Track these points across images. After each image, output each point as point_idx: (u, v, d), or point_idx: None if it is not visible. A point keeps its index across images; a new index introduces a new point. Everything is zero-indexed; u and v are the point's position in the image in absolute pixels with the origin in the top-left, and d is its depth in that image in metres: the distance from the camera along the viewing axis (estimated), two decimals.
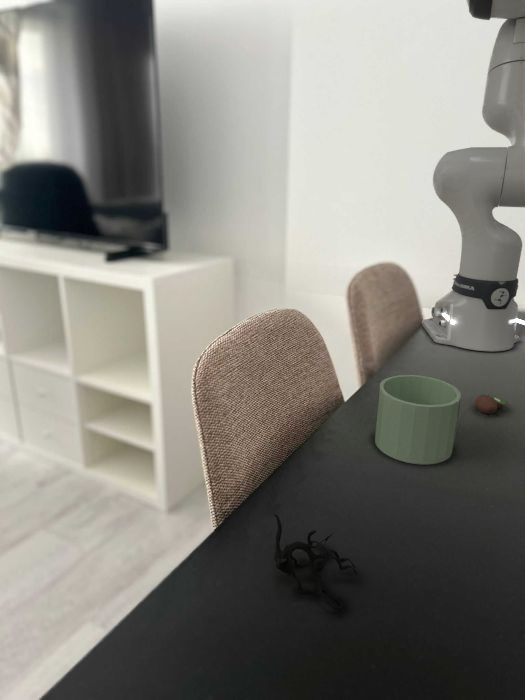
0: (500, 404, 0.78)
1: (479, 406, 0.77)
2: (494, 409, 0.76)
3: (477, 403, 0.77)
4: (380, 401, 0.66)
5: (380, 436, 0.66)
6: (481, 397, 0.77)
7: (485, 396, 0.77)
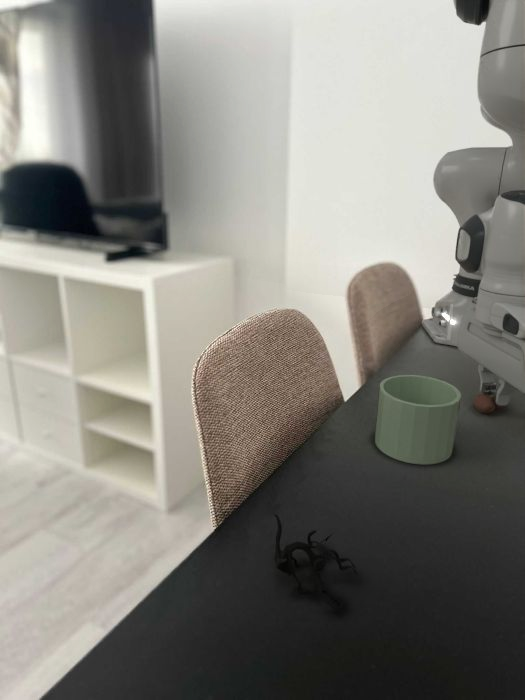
0: None
1: (477, 406, 0.77)
2: (491, 409, 0.76)
3: (475, 402, 0.78)
4: (380, 401, 0.66)
5: (380, 436, 0.66)
6: (479, 396, 0.78)
7: (483, 396, 0.77)
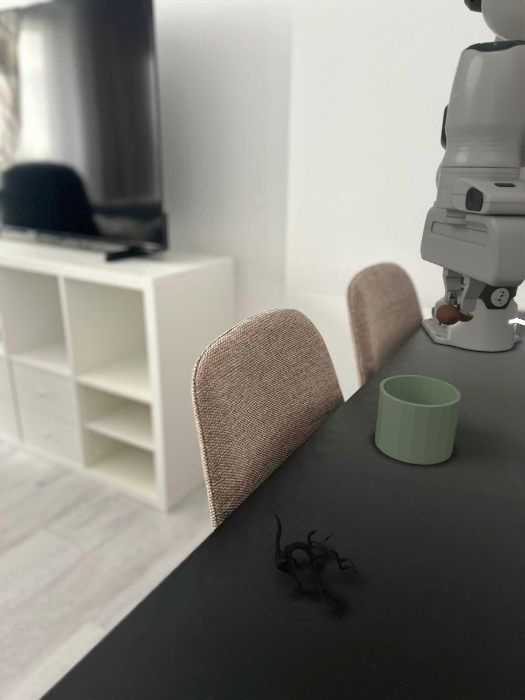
0: (465, 316, 0.65)
1: (438, 316, 0.65)
2: (455, 318, 0.64)
3: (437, 313, 0.65)
4: (380, 401, 0.66)
5: (380, 436, 0.66)
6: (442, 306, 0.65)
7: (447, 305, 0.65)
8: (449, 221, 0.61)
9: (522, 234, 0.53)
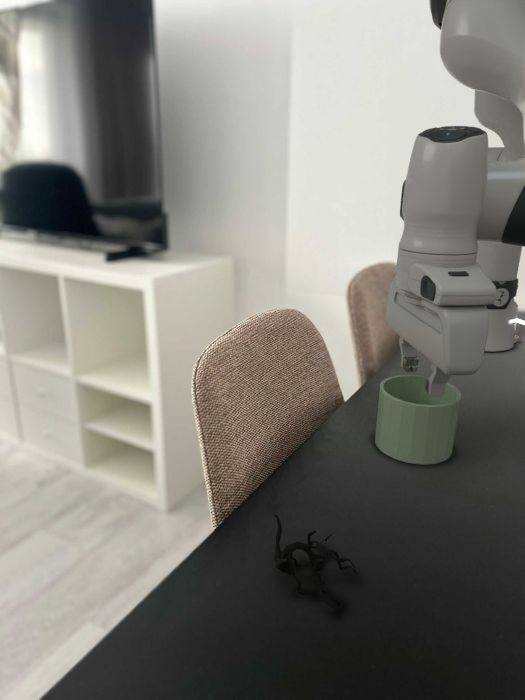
0: None
1: None
2: None
3: None
4: (380, 401, 0.66)
5: (380, 436, 0.66)
6: None
7: None
8: (407, 301, 0.61)
9: (474, 326, 0.53)
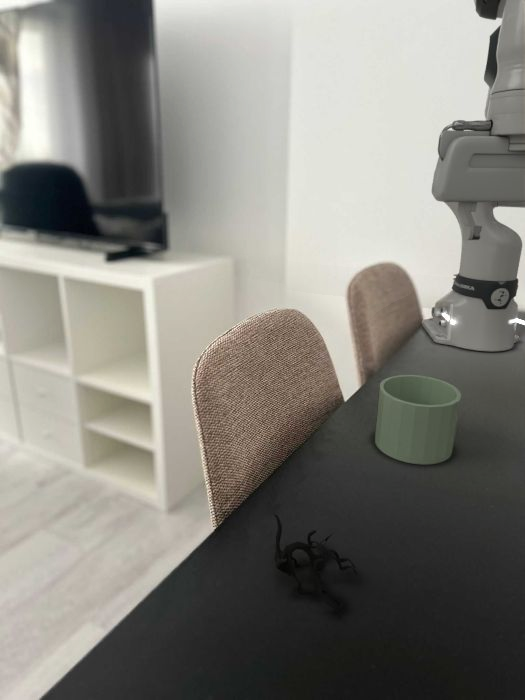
0: None
1: None
2: None
3: None
4: (380, 401, 0.66)
5: (380, 436, 0.66)
6: None
7: None
8: None
9: None
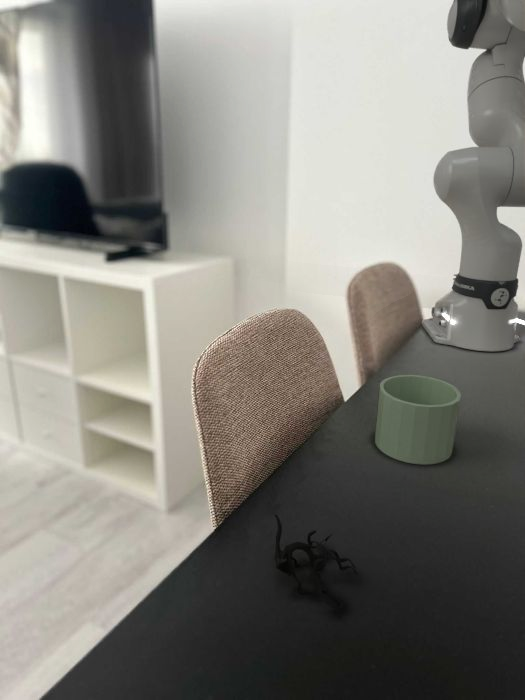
0: None
1: None
2: None
3: None
4: (380, 401, 0.66)
5: (380, 436, 0.66)
6: None
7: None
8: None
9: None
